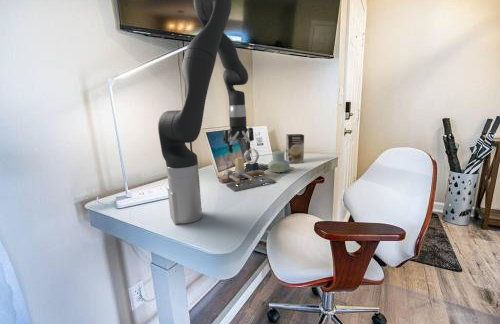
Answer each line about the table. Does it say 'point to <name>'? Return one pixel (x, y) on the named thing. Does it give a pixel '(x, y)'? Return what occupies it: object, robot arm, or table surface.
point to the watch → (251, 164)
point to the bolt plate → (249, 183)
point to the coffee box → (295, 148)
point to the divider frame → (237, 176)
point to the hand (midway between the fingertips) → (239, 151)
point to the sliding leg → (241, 168)
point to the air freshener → (278, 162)
